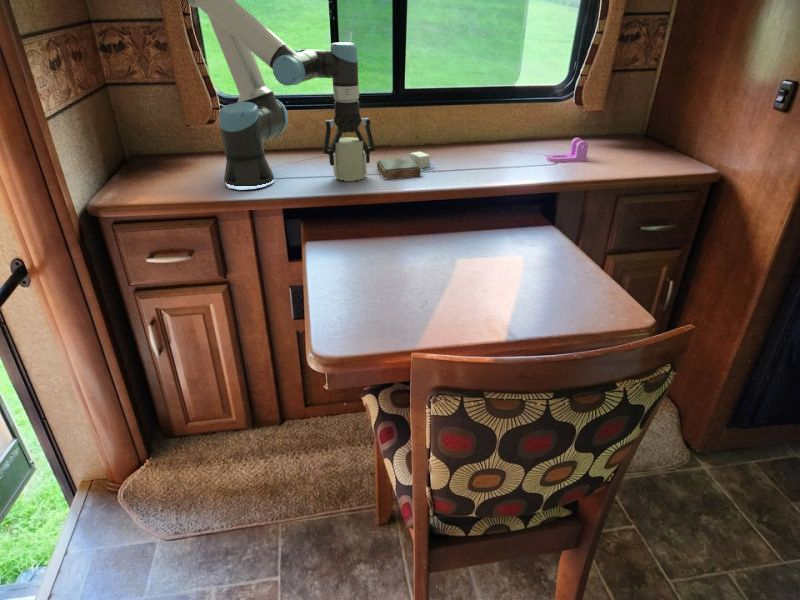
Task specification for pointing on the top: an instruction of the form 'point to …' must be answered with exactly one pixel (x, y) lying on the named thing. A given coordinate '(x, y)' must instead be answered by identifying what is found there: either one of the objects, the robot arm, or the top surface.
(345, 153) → the can
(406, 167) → the stand
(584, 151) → the bracket
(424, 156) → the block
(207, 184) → the top surface
